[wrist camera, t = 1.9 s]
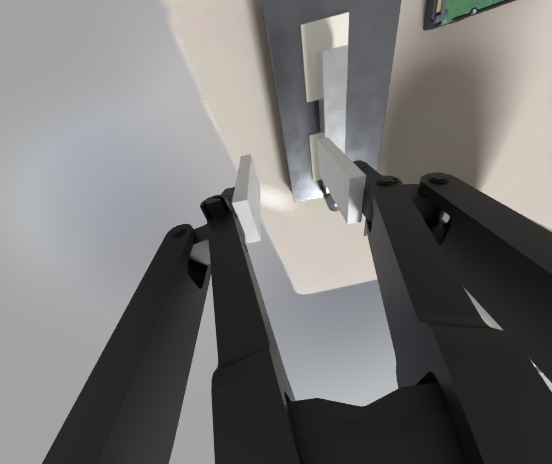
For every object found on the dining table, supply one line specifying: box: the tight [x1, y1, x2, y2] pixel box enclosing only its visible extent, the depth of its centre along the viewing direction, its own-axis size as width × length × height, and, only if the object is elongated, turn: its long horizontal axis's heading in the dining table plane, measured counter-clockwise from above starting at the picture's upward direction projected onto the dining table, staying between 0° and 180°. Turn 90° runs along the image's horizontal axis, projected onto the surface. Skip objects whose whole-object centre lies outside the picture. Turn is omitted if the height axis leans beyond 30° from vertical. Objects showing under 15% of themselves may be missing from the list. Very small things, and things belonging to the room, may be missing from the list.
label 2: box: [309, 128, 346, 181], centre depth 30 cm, size 7×5×1 cm
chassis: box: [262, 0, 401, 203], centre depth 28 cm, size 24×14×4 cm, turn 11°
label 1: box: [300, 12, 349, 102], centre depth 23 cm, size 7×5×1 cm
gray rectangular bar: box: [317, 45, 348, 211], centre depth 26 cm, size 19×2×3 cm, turn 11°
